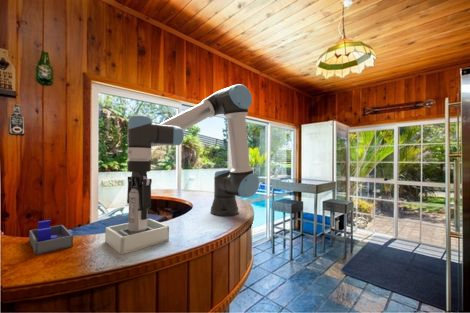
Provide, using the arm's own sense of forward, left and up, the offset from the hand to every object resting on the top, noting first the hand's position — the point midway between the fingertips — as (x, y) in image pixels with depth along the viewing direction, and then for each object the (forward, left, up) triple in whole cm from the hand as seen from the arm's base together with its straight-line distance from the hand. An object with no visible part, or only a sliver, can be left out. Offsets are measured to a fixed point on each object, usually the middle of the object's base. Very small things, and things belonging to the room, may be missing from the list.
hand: (138, 226), depth 77 cm
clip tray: (+21, -18, -5) cm, 28 cm away
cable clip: (+22, -18, -5) cm, 29 cm away
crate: (0, 0, -5) cm, 5 cm away
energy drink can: (0, 0, -2) cm, 2 cm away
